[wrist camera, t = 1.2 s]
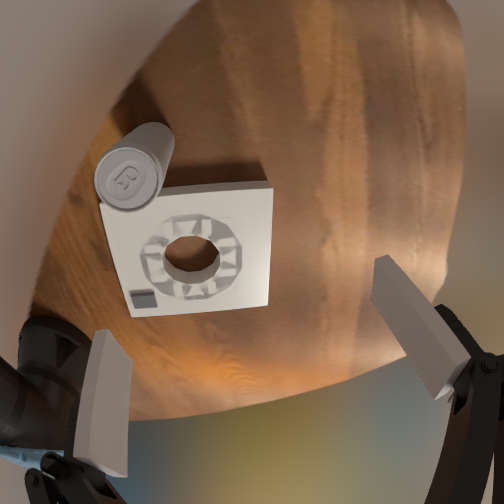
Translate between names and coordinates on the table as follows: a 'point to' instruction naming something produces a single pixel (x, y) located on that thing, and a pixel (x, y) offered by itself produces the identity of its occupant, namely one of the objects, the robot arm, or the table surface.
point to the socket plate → (203, 225)
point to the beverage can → (135, 168)
